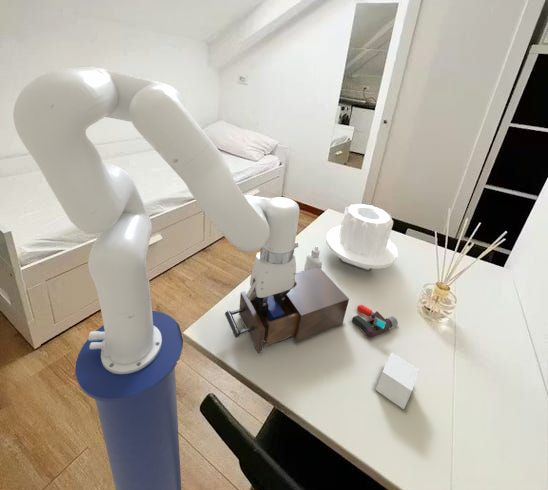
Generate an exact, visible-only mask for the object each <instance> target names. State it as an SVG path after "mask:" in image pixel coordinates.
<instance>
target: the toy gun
mask: <svg viewBox="0 0 548 490" xmlns="http://www.w3.org/2000/svg"><path fill="white" fill-rule="evenodd" d="M356 309H357V311H358V312H359V313H360V314H362V315H363V316H366V317H367V318H370V319H368V320H365V319H364V318H363V317H362V316H360V315H354V316H352V319H351V323H352V324H353V325H354V326H356V327H357V328H359V330H361V331H362V332H363V333H364V335H365V336H366V338H369V339H373V338H374V337H377V336H379V335H381V334H384V333H386V332H388V331H390V329H392V328H395V327H397V326H398V325H399V324H398V322H399V321H398V319H397V318H396V317H395V316H394V315H391V316H389V317H387V318H385V317H384V316H383V315H382V314H381V313H380V312H379V311H378V310H377V311H373V309H370V308H369V307H366V305H363V304H358V305H357V307H356Z"/></svg>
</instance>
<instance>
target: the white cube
mask: <svg viewBox="0 0 548 490" xmlns="http://www.w3.org/2000/svg"><path fill="white" fill-rule="evenodd" d="M419 372H420V369H419V367H416V366H415V365H413V364H411V363H409V362H408V361H407V360H405V359H403V358H402V357H400V356H398V355H397V354H395V353H393V352H392V351H391V352H390V354H389V356H388V359H387V360H386V363H385V365H384V367H383V369H382V371H381V374H380V377H379V380H378V383H377V385H376V388H375V391H377V392H378V393H380V394H381V395H382V396H384V398H387V399H388V400H389V401H391V402H392V403H394V404H395V405H397V407H399V408H401V409H402V410H405V408H406V406H407V404H408V401H409V399H410V397H411V394H412V392H413V389H414V386H415V383H416V380H417V378H418V374H419Z"/></svg>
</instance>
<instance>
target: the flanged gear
mask: <svg viewBox="0 0 548 490" xmlns="http://www.w3.org/2000/svg"><path fill="white" fill-rule="evenodd" d="M393 226H394V220H393V219H392V214H390V213H388V212H386V211H385V210H384V209H383V208H380V207H377V206H374V205H373V204H371V205H370V204H367V203H366V204H364V203H356V204H353V203H351V204H350V205H348V206H347V207H345V209H344V211H343V214H342V219H341V222H340V225H337V226H333V227H332V228H330V229H329V230H328V231H327V233H326V235H325V243H326V246H327V248H328V249H329V250H330V252H331V253H332V254H334V255H335V256H336V257H338V258H339V259H340V260H341V262H343V263H347V264H349V265H352V266H355V267H357V268H360V269H363V270H366V271H369V270H371V269H384V268H389V267H390V266H392V265H394V264H395V263H396V261H397V259H398V256H399V250H398V248H397V246H396V244H395V243H394V242H393V240H391V239H390V237H391V236H390V235H391V233H392V229H393Z"/></svg>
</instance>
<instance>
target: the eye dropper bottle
mask: <svg viewBox="0 0 548 490" xmlns="http://www.w3.org/2000/svg"><path fill="white" fill-rule="evenodd" d="M320 253H321V249H320V248H319V246H318V245H315V247H313V248H312V249H311V252H309V253H307V254H306V258H305V264H304V269H303V271H305V270H309V269H313V268H317V267H320V269H321V270H322V267H323V261H322V259H321V256H320Z"/></svg>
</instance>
